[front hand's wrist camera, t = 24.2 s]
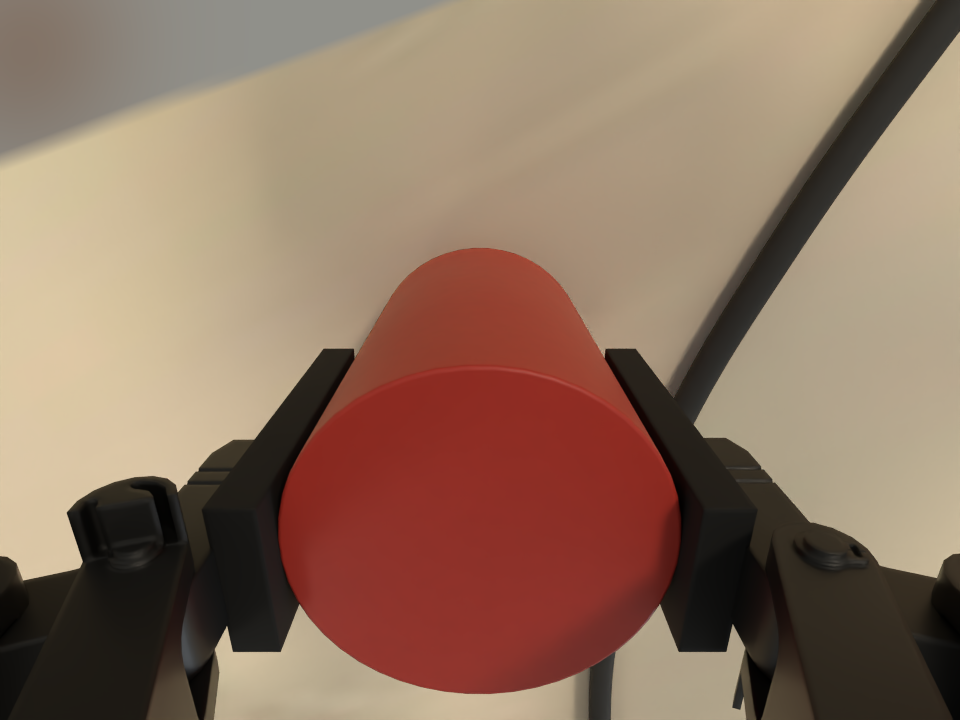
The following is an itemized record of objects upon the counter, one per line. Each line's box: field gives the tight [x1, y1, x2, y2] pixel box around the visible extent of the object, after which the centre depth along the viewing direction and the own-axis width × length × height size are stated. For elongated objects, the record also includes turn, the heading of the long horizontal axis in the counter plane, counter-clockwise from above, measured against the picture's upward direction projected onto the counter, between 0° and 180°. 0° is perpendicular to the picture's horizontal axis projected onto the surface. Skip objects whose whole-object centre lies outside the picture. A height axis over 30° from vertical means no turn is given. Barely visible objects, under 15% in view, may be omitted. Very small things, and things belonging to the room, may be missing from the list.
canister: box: [278, 248, 681, 694], centre depth 13 cm, size 6×6×9 cm
